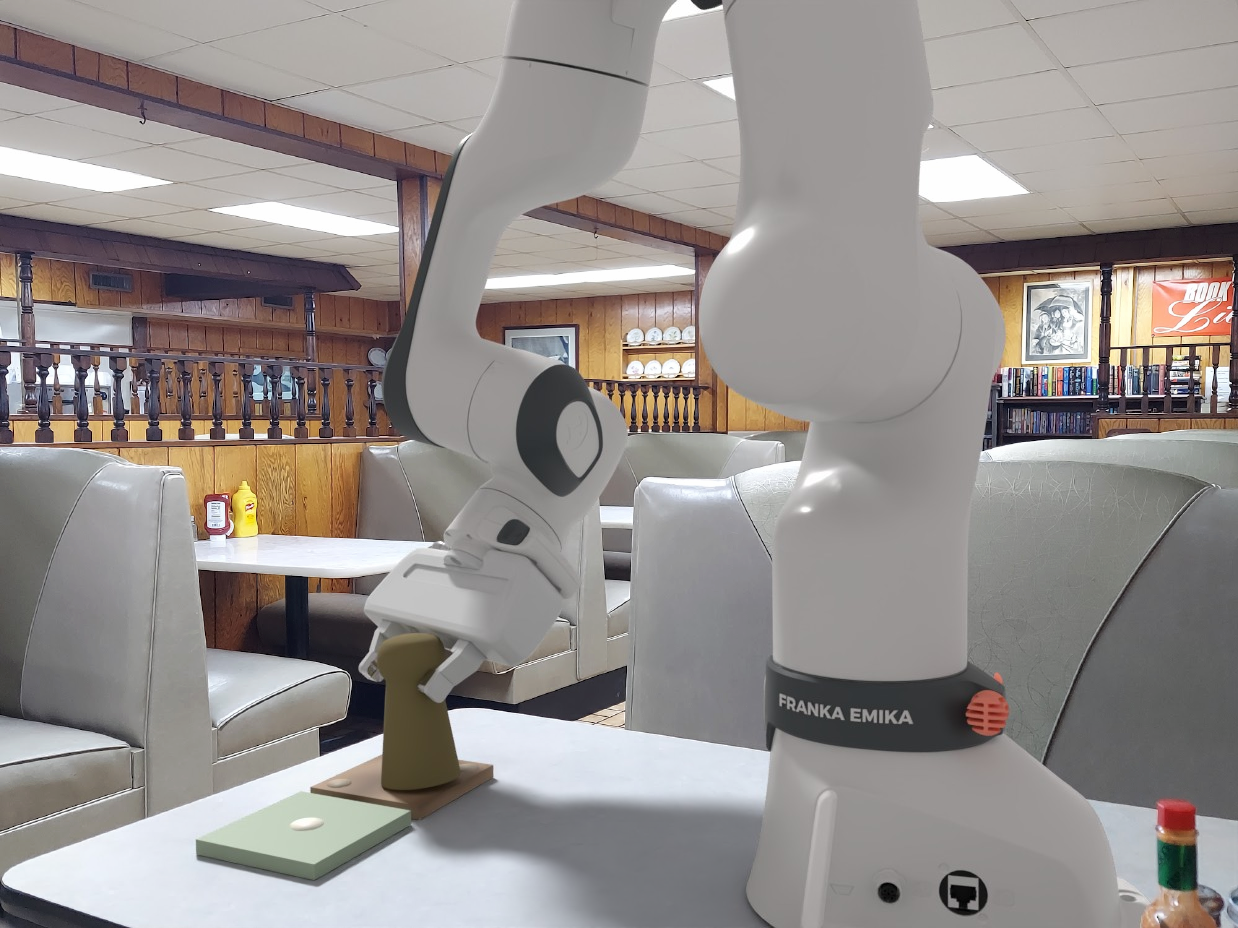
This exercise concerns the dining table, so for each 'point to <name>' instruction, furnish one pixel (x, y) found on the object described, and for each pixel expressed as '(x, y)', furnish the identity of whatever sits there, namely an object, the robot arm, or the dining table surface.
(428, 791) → the tile two
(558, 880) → the dining table surface
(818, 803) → the robot arm
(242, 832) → the tile one
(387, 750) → the cork
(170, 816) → the dining table surface
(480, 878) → the dining table surface
